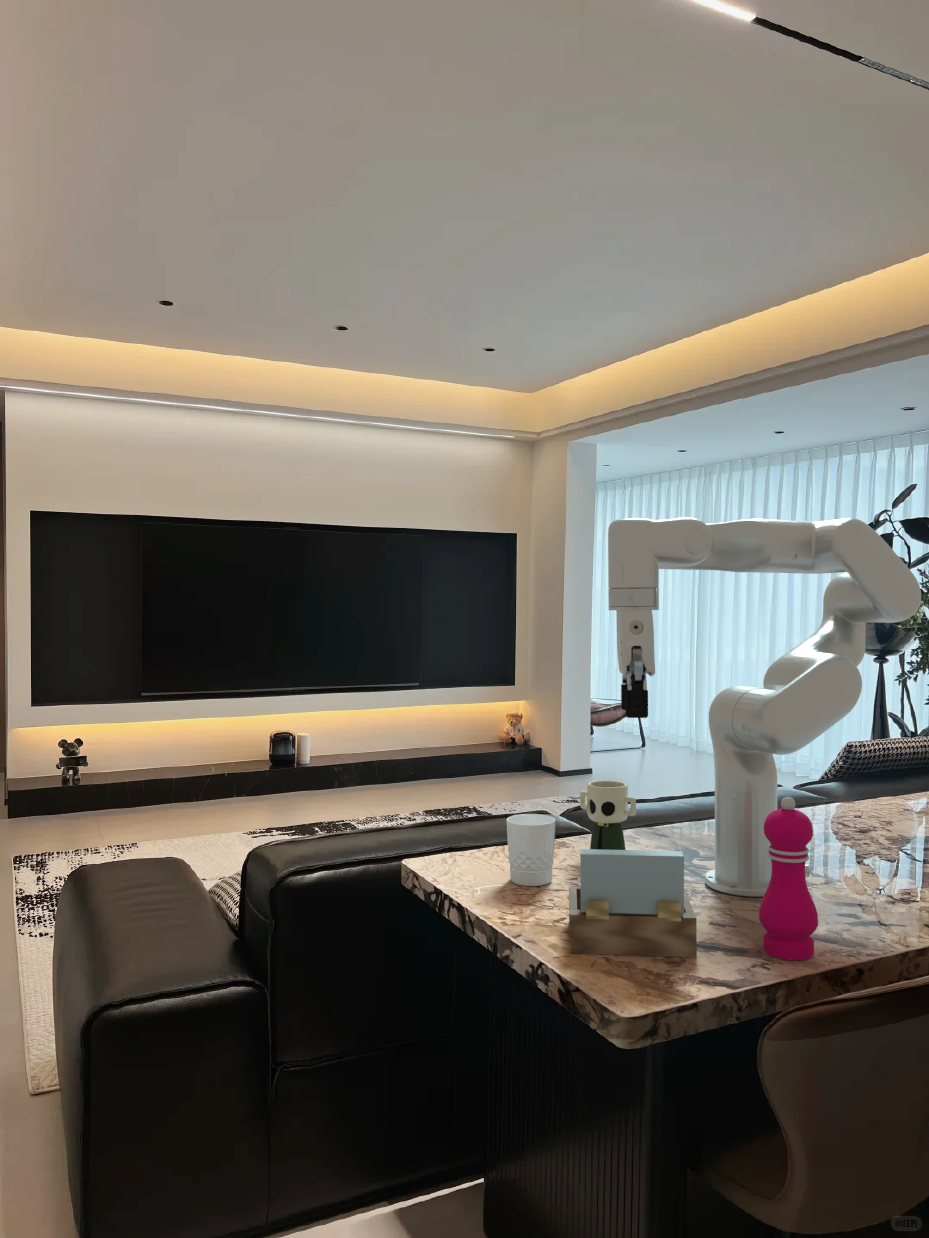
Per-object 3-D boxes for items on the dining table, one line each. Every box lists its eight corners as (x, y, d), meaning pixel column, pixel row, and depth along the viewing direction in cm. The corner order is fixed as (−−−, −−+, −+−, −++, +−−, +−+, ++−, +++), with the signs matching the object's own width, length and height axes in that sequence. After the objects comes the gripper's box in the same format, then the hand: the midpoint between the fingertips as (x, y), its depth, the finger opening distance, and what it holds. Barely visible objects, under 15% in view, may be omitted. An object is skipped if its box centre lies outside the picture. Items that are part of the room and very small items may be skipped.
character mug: (570, 856, 165) (570, 783, 165) (589, 847, 171) (589, 777, 171) (626, 866, 159) (626, 790, 159) (644, 857, 165) (644, 783, 164)
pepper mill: (750, 942, 123) (749, 791, 123) (802, 940, 124) (802, 790, 124) (772, 963, 116) (772, 803, 116) (828, 961, 117) (828, 802, 116)
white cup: (553, 888, 147) (552, 825, 147) (503, 886, 148) (503, 824, 148) (557, 874, 155) (557, 814, 154) (510, 872, 156) (510, 812, 156)
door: (681, 908, 121) (681, 850, 121) (684, 915, 118) (683, 856, 118) (580, 905, 122) (580, 848, 122) (580, 911, 120) (580, 853, 120)
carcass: (684, 924, 130) (684, 873, 130) (698, 961, 117) (698, 904, 117) (569, 921, 132) (568, 870, 132) (570, 957, 119) (569, 900, 118)
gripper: (665, 600, 132) (665, 721, 132) (652, 600, 149) (653, 707, 149) (611, 601, 133) (612, 720, 133) (605, 600, 150) (606, 707, 150)
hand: (634, 713), depth 141 cm, fingers open, 9 cm apart
